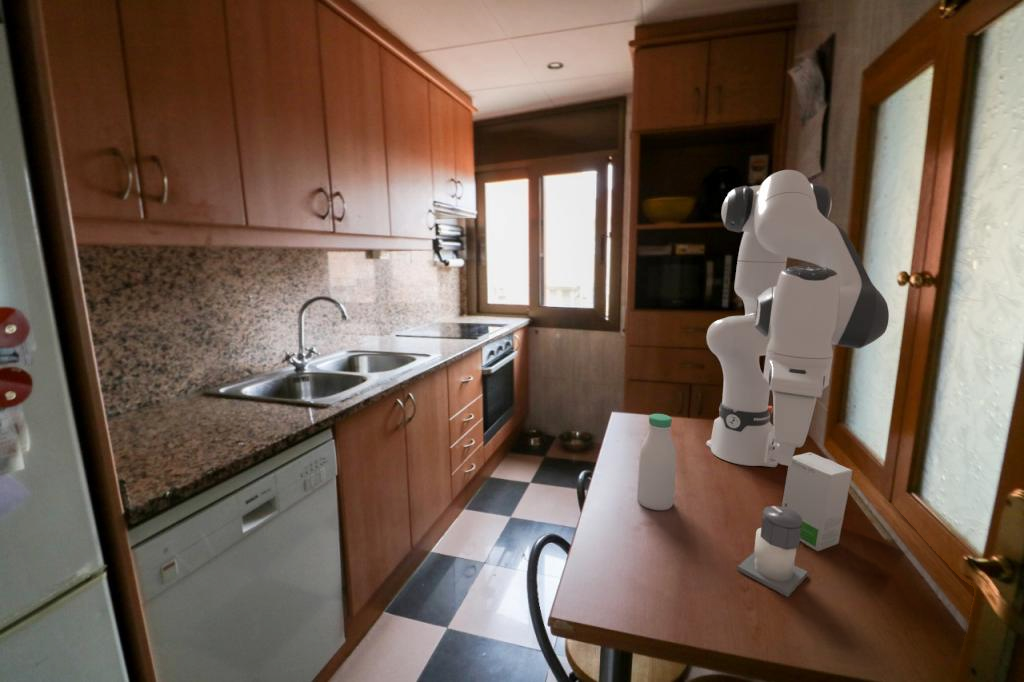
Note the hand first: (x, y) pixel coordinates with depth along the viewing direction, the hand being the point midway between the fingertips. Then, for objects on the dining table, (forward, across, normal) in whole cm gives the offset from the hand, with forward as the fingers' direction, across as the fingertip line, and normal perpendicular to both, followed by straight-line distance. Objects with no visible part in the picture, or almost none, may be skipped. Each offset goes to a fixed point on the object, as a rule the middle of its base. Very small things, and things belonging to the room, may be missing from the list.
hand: (785, 452), depth 73 cm
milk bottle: (+23, -12, -23) cm, 34 cm away
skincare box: (+22, -16, +6) cm, 28 cm away
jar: (+22, 0, 0) cm, 22 cm away
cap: (+15, 0, +1) cm, 15 cm away
